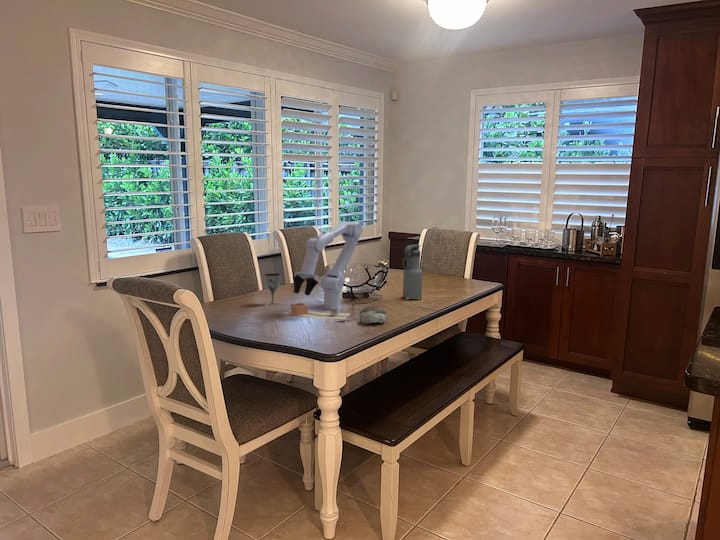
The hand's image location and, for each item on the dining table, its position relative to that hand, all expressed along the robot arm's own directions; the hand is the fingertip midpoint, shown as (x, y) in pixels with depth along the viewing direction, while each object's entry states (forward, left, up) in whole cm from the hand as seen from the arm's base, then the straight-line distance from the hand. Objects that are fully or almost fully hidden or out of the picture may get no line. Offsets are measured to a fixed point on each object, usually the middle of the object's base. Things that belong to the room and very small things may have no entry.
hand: (301, 294), depth 237 cm
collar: (-3, -2, -9) cm, 10 cm away
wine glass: (-20, -21, -11) cm, 31 cm away
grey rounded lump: (-1, +32, -11) cm, 34 cm away
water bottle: (-54, +43, -11) cm, 70 cm away
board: (-3, +6, -11) cm, 13 cm away
